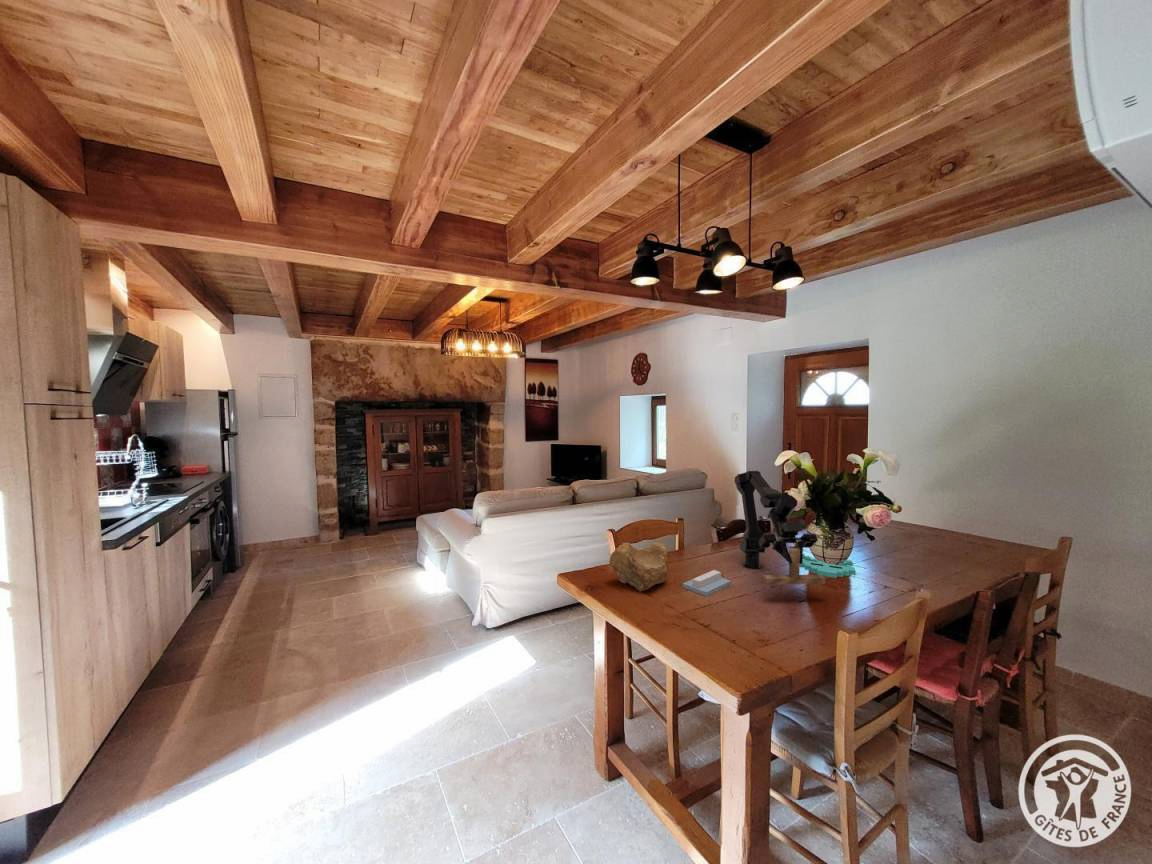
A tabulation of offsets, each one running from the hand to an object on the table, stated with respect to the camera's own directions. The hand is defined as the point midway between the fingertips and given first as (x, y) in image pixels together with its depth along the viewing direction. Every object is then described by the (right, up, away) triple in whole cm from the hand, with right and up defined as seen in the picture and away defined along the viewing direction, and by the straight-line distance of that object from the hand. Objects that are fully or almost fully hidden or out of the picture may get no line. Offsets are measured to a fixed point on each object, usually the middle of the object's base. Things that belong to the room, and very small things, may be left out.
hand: (796, 563), depth 145 cm
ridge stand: (-26, -13, +14) cm, 32 cm away
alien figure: (+29, -13, +32) cm, 45 cm away
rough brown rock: (-50, -13, +15) cm, 54 cm away
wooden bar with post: (0, -7, +2) cm, 7 cm away
